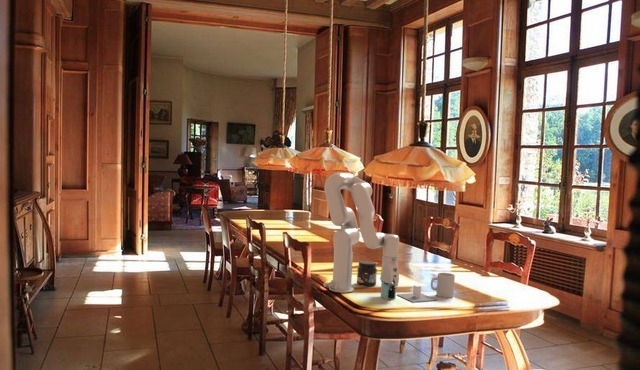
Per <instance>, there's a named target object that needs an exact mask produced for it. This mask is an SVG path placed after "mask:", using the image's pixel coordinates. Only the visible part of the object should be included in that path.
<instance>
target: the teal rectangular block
mask: <svg viewBox="0 0 640 370" xmlns="http://www.w3.org/2000/svg"><path fill="white" fill-rule="evenodd" d="M392 286H393V285H391V287H392ZM389 290H390V289H389V284H388V283H381V286H380V297H381V298H383V299H384V300H394V299H396V296H397V289H396V290H395V296H394V298H388V293H389Z"/></svg>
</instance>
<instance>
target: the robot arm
mask: <svg viewBox="0 0 640 370" xmlns="http://www.w3.org/2000/svg"><path fill="white" fill-rule="evenodd" d="M341 190H347V191H349V192H350V195H351V197H352V201H353V203H354V205H355V209H356V211H357V214H358V221H357V217H356V214H355V212H354V210H353V209H352V208H351V207H348V206H346V204H345V201H344V200H345V199H344V197H343V194H342V192H341ZM323 191H324V195H325V199H326V202H327V207H328V212H329V215H330V220H331V223H332V224H333V225H334V226H336V227H340V228H339V229H337V230H336V231H335V232H334V234H333V240H332V241H333V264H332V265H333V267H332V268H333V270H332V271H333V272H332V280H330V281H329V282H323V286H324V288H325V287H326V288H327V287H328V288H329V291H332V292H334V293H341V294H342V293H344V294H347V293H353V292H354V291H355V288H354V286H352V279H353V278H352V275H353V273H352V272H353V254H354V253H353V245H356V244H357V243H358V242H359V241H360V234H361V237H362V240H363V243H364V245H365V247H367V248H368V249H370V250H375V249H379V248H382V262H381V268H380V269H381V271H380V278H379V279H380V282H381V283H388V284H389V289H390V290H389V293H388V298H394V296H395V290H396V291H397V287H399V282H400V268H399V250H400V248H399V247H400V237H399V235H397V234H394V233H393V234H392V233H386V232H385V233H384V232H380V231H376V230H375V229H376V228H375V224H374V217H375V214H376V210H375V206H374V204H373V200H372V198H371V196H372V194H373V188H372V186H371V184H370V183H368V181H367V182H366V181H365V180H363V179H361V178H359V177H358V176H356V175H354V174H352V173H350V172H336V173H332V174H330V175H329V176H328V178H327V179H326V180H325V182H324V189H323ZM391 285H393V286H392V287H391ZM395 297H396V296H395Z"/></svg>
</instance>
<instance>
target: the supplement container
mask: <svg viewBox="0 0 640 370" xmlns="http://www.w3.org/2000/svg"><path fill="white" fill-rule="evenodd" d="M356 270H357V271H356V272H357V273H356V284H357V285H358V286H362V287H367V288H369V287H374V286H376V285H377V272H378V269H377V262H375V261H371V260H361V261H358V266H357V269H356Z"/></svg>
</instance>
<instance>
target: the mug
mask: <svg viewBox="0 0 640 370" xmlns="http://www.w3.org/2000/svg"><path fill="white" fill-rule="evenodd" d="M455 278H456V275H455V274H454V273H450V272H439V273H437V276H434V277H432V278H431V281H430V289H431V290H432V291H436V294H435V295H436V296H437V297H439V298H445V299H450V298H454V297H455V296H454V293H455V281H456V280H455ZM434 281H437V282H436V284H437V285H436V287H435V286H434Z"/></svg>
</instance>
